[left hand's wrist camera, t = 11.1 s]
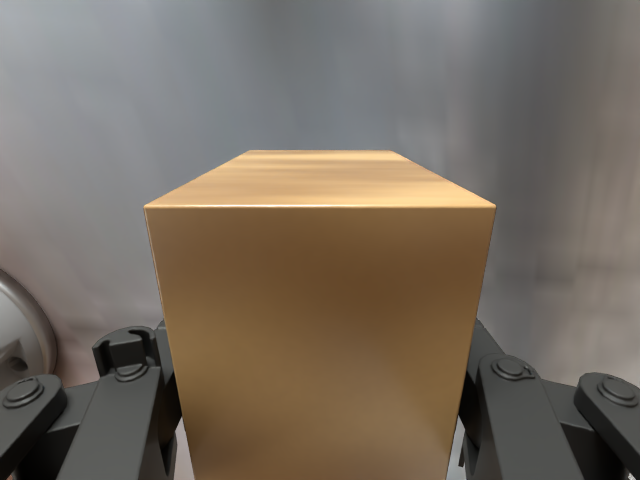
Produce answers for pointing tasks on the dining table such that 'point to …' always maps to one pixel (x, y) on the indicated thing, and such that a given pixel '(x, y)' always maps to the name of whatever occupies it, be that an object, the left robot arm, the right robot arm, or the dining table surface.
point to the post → (320, 313)
